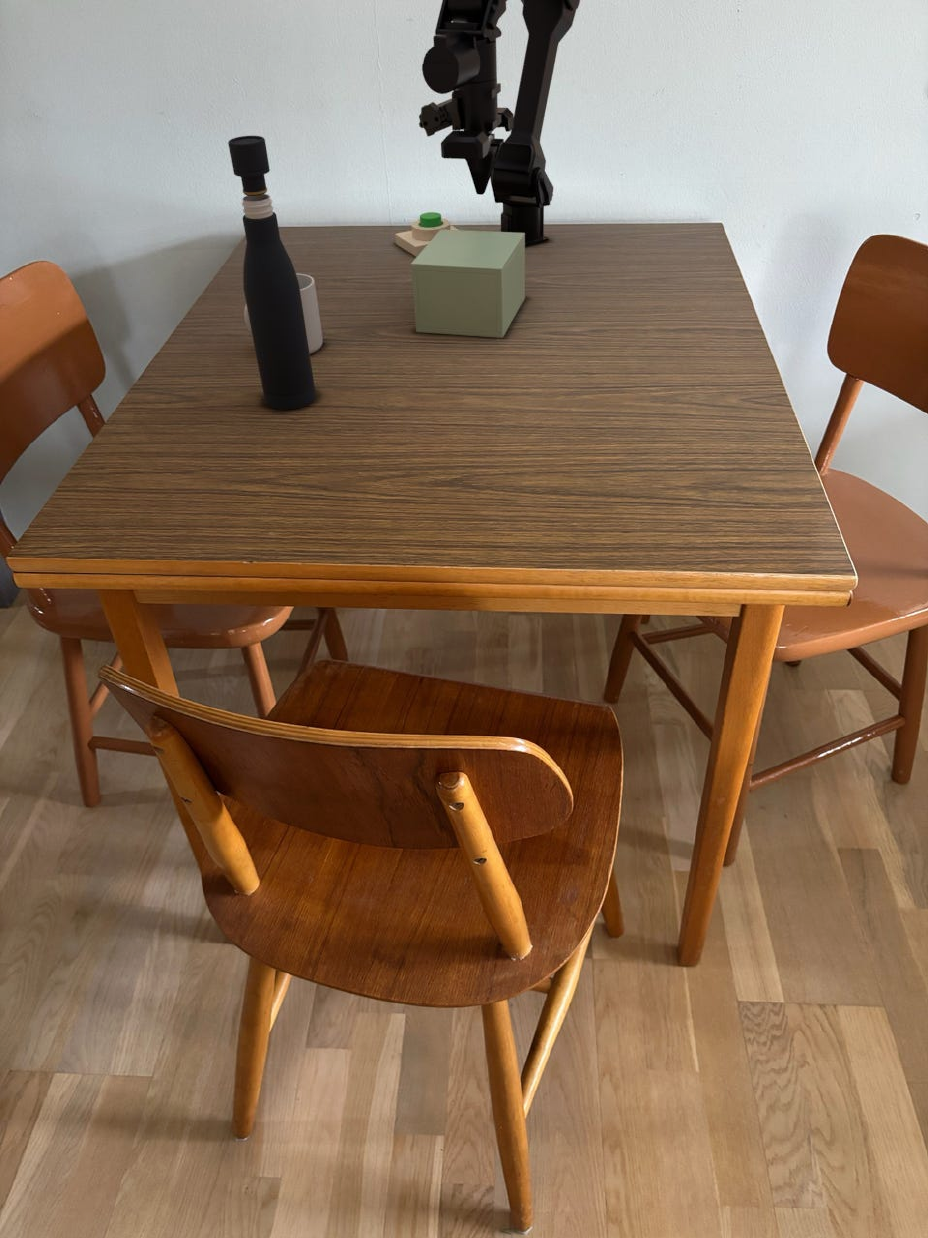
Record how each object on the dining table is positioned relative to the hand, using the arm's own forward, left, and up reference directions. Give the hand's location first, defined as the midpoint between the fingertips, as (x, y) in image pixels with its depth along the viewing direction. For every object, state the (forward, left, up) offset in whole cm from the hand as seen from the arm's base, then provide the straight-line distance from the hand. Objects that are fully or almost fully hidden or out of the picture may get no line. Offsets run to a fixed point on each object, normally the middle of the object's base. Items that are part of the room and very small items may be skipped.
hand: (480, 193), depth 146 cm
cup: (+38, +12, -12) cm, 41 cm away
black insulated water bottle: (+43, +27, -12) cm, 52 cm away
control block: (+2, -15, -11) cm, 19 cm away
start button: (+2, -15, -8) cm, 17 cm away
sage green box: (+11, +16, -11) cm, 22 cm away
